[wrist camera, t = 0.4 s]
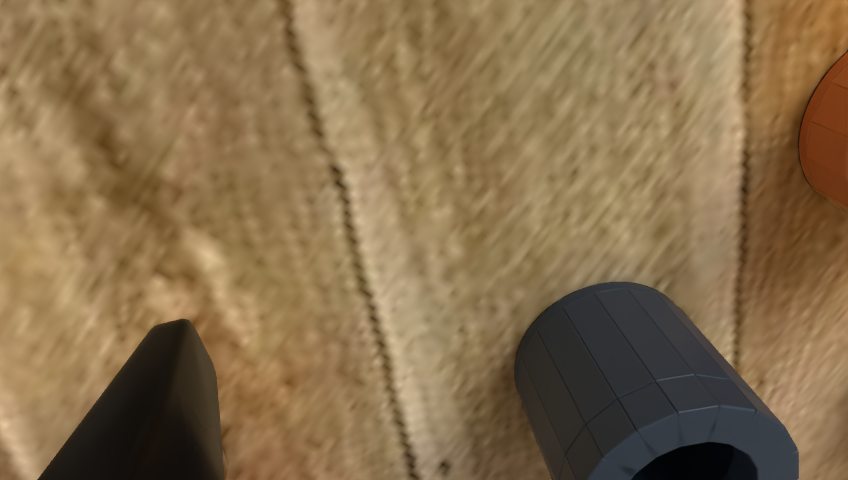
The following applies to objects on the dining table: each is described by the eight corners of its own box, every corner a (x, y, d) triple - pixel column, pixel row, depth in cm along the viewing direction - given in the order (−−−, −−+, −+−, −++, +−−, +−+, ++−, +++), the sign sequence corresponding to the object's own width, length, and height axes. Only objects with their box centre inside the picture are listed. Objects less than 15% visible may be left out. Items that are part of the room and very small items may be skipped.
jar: (646, 437, 31) (737, 586, 24) (489, 419, 29) (541, 573, 22) (717, 297, 28) (842, 422, 21) (547, 266, 26) (626, 392, 19)
